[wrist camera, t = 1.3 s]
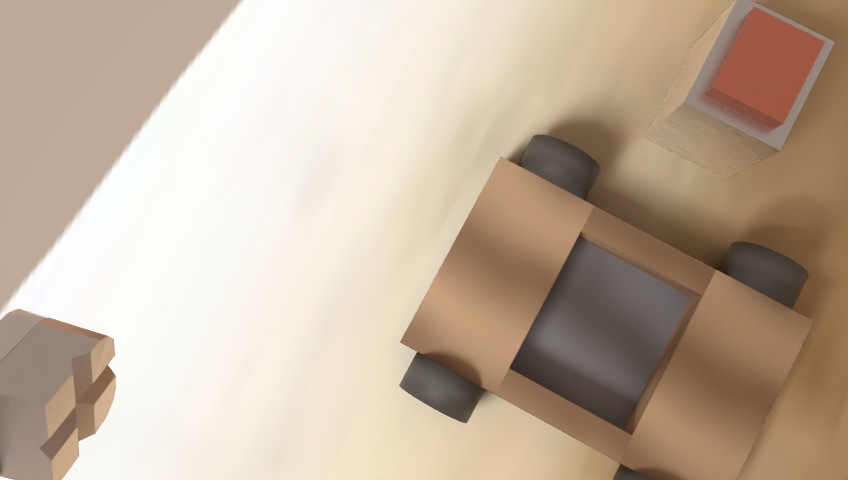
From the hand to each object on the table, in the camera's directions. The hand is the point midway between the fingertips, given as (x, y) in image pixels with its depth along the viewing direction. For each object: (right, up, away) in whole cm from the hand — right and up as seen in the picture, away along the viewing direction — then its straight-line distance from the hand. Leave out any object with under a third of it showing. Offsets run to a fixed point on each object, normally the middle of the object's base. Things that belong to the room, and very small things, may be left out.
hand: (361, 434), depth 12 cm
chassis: (+10, -2, +30) cm, 32 cm away
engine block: (+17, +10, +31) cm, 37 cm away
